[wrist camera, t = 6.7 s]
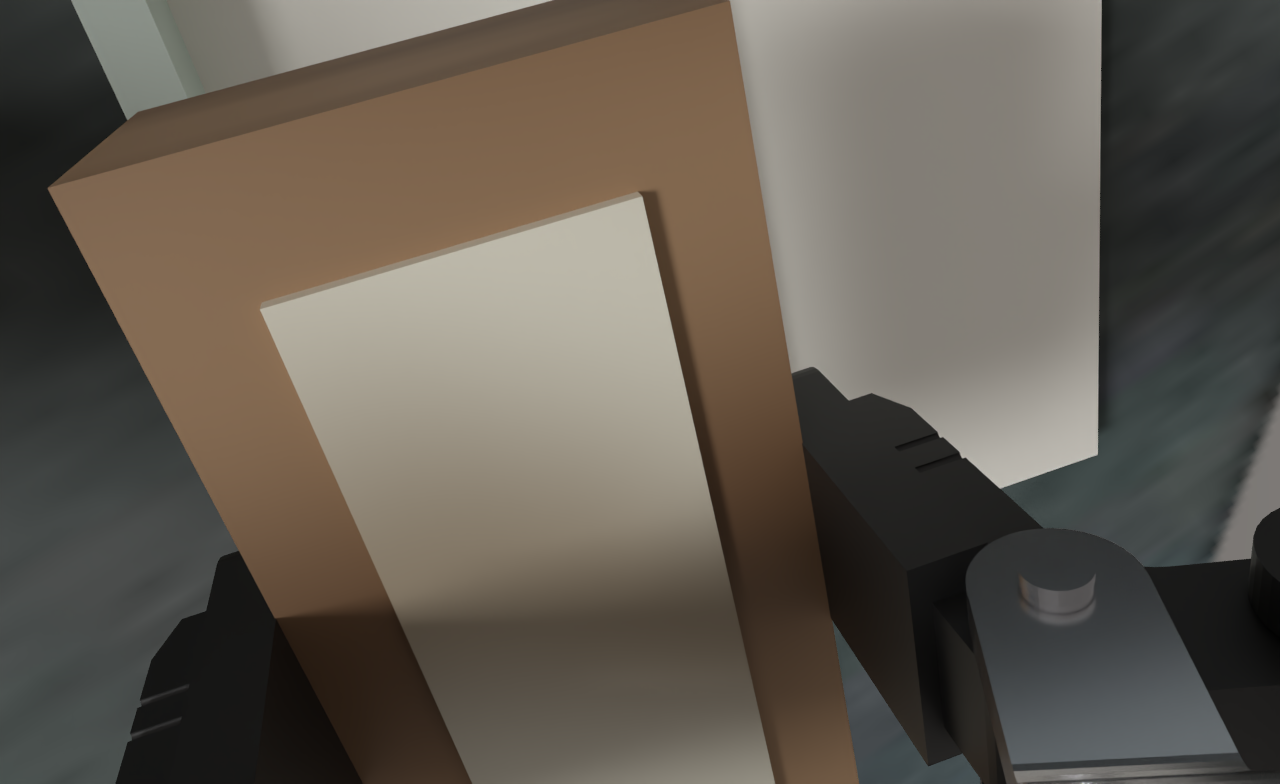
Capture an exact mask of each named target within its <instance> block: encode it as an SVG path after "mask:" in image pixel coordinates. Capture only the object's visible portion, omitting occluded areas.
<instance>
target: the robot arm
mask: <svg viewBox="0 0 1280 784" xmlns="http://www.w3.org/2000/svg"><path fill="white" fill-rule="evenodd" d="M791 374H792V380H793V386H794V392H795V398H796V405H797V411H798V417H799V423H800V429H801V435H802V441H803V443H802V447H803V453H804V459H805V465H806V471H807V477H808V483H809V489H810V495H811V501H812V507H813V513H814V519H815V525H816V531H817V537H818V544H819V550H820V556H821V562H822V568H823V574H824V580H825V586H826V592H827V598H828V604H829V610H830V616H831V619H832V620H833V622H834V623H835V625H836V626H837V628H838V630H839V631H840V633H841V634H842V636H843V637H844V639H845V640H846V642H847V643H848V645H849V646H850V648H851V649H852V651H853V652H854V654H855V655H856V657H857V658H858V660H859V662H860V663H861V665H862V666H863V668H864V669H865V671H866V672H867V674H868V675H869V677H870V678H871V680H872V681H873V683H874V684H875V686H876V687H877V689H878V690H879V692H880V694H881V695H882V697H883V698H884V700H885V701H886V703H887V704H888V706H889V707H890V709H891V710H892V712H893V713H894V715H895V716H896V718H897V719H898V721H899V722H900V724H901V726H902V727H903V729H904V730H905V732H906V733H907V735H908V736H909V738H910V739H911V741H912V742H913V744H914V745H915V747H916V748H917V750H918V751H919V753H920V754H921V756H922V757H923V759H924V761H925V762H926V764H927V765H928V766H931V765H933V764H936V763H938V762H941V761H944V760H946V759H949V758H952V757H954V756H957V755H959V754H962V753H963V754H964V756H965V757H966V759H967V760H968V762H969V763H970V764H971V766H972V767H973V769H974V770H975V771H976V773H977V774H978V776H979V777H980V784H1280V508H1279V509H1277V510H1275V511H1273V512H1271V513H1270V514H1269V515H1267V516H1266V517H1265V518H1264V519H1262V521H1261V522H1260V524H1259V525H1258V526H1257V528H1256V531H1255V534H1254V537H1253V547H1252V556H1251V559H1244V560H1233V561H1223V562H1213V563H1202V564H1192V565H1182V566H1170V567H1144V566H1143V565H1142V564H1141V563H1140V562H1139V561H1138V560H1137V559H1136V558H1135V557H1134V556H1133V555H1132V554H1131V553H1129V552H1128V551H1126V550H1125V549H1124V548H1122V547H1121V546H1119V545H1117V544H1115V543H1113V542H1111V541H1109V540H1107V539H1104V538H1102V537H1099V536H1096V535H1093V534H1089V533H1085V532H1082V531H1076V530H1069V529H1058V528H1043V527H1041V526H1040V525H1039V524H1038V523H1037V522H1036V521H1035V520H1034V519H1033V518H1032V517H1030V516H1029V515H1028V514H1027V513H1026V512H1025V511H1024V510H1023V509H1022V508H1021V507H1019V506H1018V505H1017V504H1016V503H1015V502H1014V501H1013V500H1012V499H1011V498H1010V497H1008V496H1007V495H1006V494H1005V493H1004V492H1003V491H1002V490H1001V489H1000V488H999V487H998V486H996V485H995V484H994V483H993V482H992V481H991V480H990V479H989V478H988V477H987V476H985V475H984V474H983V473H982V472H981V471H980V470H979V469H978V468H977V467H976V466H974V465H973V464H972V463H971V462H970V461H969V460H968V459H967V458H966V457H965V458H962V457H961V455H960V452H959V451H958V450H957V449H956V448H955V447H954V446H953V445H951V444H950V443H949V442H948V441H947V440H946V439H945V438H944V437H942V438H940V437H939V435H938V432H937V431H936V430H935V429H934V428H933V427H932V426H931V425H929V424H928V423H927V422H926V421H925V420H924V419H923V418H922V417H921V416H920V415H918V414H917V413H916V412H915V411H914V410H913V409H912V408H910V407H907V406H905V405H902V404H899V403H897V402H894V401H891V400H889V399H886V398H883V397H881V396H878V395H875V394H873V393H870V394H867V395H864V396H861V397H858V398H855V399H852V400H848V399H847V398H846V397H845V396H844V395H843V394H842V393H841V392H840V391H839V390H838V389H837V388H836V387H835V386H834V385H833V384H832V383H831V382H830V381H829V380H828V379H827V378H826V377H825V376H824V375H823V374H822V373H821V372H820V371H819V370H818V369H817V368H815V367H809V368H806V369H803V370H800V371H796V372H793V373H791ZM140 701H141V704H142V707H139V708H137V712H136V715H135V719H134V722H133V726H132V729H131V732H130V734H131V737H132V741H130V742H128V743H127V746H126V750H125V753H124V757H123V760H122V763H121V767H120V770H119V774H118V777H117V781H116V784H363V782H362V780H361V779H360V777H359V775H358V773H357V771H356V769H355V767H354V765H353V763H352V762H351V760H350V758H349V756H348V754H347V752H346V750H345V748H344V746H343V744H342V743H341V741H340V739H339V737H338V735H337V733H336V731H335V729H334V727H333V726H332V724H331V722H330V720H329V718H328V716H327V714H326V712H325V710H324V708H323V707H322V705H321V703H320V701H319V699H318V697H317V695H316V693H315V691H314V690H313V688H312V686H311V684H310V682H309V680H308V678H307V676H306V674H305V672H304V671H303V669H302V667H301V665H300V663H299V661H298V659H297V657H296V655H295V654H294V652H293V650H292V648H291V646H290V644H289V642H288V640H287V638H286V636H285V635H284V633H283V631H282V629H281V627H280V625H279V623H278V621H277V619H276V618H274V616H273V614H272V612H271V610H270V608H269V607H268V605H267V603H266V601H265V599H264V597H263V595H262V593H261V591H260V590H259V588H258V586H257V584H256V582H255V580H254V578H253V576H252V574H251V572H250V571H249V569H248V567H247V565H246V563H245V561H244V559H243V557H242V555H241V554H240V552H239V551H237V552H234V553H231V554H228V555H225V556H222V557H221V558H220V559H219V561H218V564H217V567H216V571H215V576H214V580H213V584H212V589H211V593H210V597H209V601H208V606H207V610H206V611H205V612H202V613H199V614H196V615H193V616H190V617H187V618H184V619H182V620H181V621H180V622H179V624H178V625H177V626H176V628H175V629H174V630H173V632H172V633H171V635H170V636H169V637H168V639H167V640H166V641H165V643H164V644H163V645H162V647H161V648H160V649H159V651H158V652H157V653H156V655H155V656H154V657H153V659H152V660H151V664H150V667H149V670H148V674H147V677H146V681H145V684H144V688H143V691H142V695H141V698H140Z"/></svg>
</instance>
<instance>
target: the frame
mask: <svg viewBox="0 0 1280 784" xmlns="http://www.w3.org/2000/svg"><path fill="white" fill-rule="evenodd" d="M48 190H49V192H50V194H51V196H52V198H53V200H54V202H55V204H56V206H57V207H58V209H59V211H60V213H61V215H62V217H63V219H64V221H65V223H66V224H67V226H68V228H69V230H70V232H71V234H72V236H73V238H74V240H75V241H76V243H77V245H78V247H79V249H80V251H81V253H82V255H83V257H84V258H85V260H86V262H87V264H88V266H89V268H90V270H91V272H92V274H93V276H94V277H95V279H96V281H97V283H98V285H99V287H100V289H101V291H102V293H103V294H104V296H105V298H106V300H107V302H108V304H109V306H110V308H111V310H112V311H113V313H114V315H115V317H116V319H117V321H118V323H119V325H120V327H121V328H122V330H123V332H124V334H125V336H126V338H127V340H128V342H129V344H130V345H131V347H132V349H133V351H134V353H135V355H136V357H137V359H138V361H139V363H140V364H141V366H142V368H143V370H144V372H145V374H146V376H147V378H148V380H149V381H150V383H151V385H152V387H153V389H154V391H155V393H156V395H157V397H158V398H159V400H160V402H161V404H162V406H163V408H164V410H165V412H166V414H167V415H168V417H169V419H170V421H171V423H172V425H173V427H174V429H175V431H176V433H177V434H178V436H179V438H180V440H181V442H182V444H183V446H184V448H185V450H186V451H187V453H188V455H189V457H190V459H191V461H192V463H193V465H194V467H195V468H196V470H197V472H198V474H199V476H200V478H201V480H202V482H203V484H204V485H205V487H206V489H207V491H208V493H209V495H210V497H211V499H212V501H213V502H214V504H215V506H216V508H217V510H218V512H219V514H220V516H221V518H222V520H223V521H224V523H225V525H226V527H227V529H228V531H229V533H230V535H231V537H232V538H233V540H234V542H235V544H236V546H237V548H238V550H239V552H240V554H241V555H242V557H243V559H244V561H245V563H246V565H247V567H248V569H249V571H250V572H251V574H252V576H253V578H254V580H255V582H256V584H257V586H258V588H259V590H260V591H261V593H262V595H263V597H264V599H265V601H266V603H267V605H268V607H269V608H270V610H271V612H272V614H273V616H274V618H276V619H277V621H278V623H279V625H280V627H281V629H282V631H283V633H284V635H285V636H286V638H287V640H288V642H289V644H290V646H291V648H292V650H293V652H294V654H295V655H296V657H297V659H298V661H299V663H300V665H301V667H302V669H303V671H304V672H305V674H306V676H307V678H308V680H309V682H310V684H311V686H312V688H313V690H314V691H315V693H316V695H317V697H318V699H319V701H320V703H321V705H322V707H323V708H324V710H325V712H326V714H327V716H328V718H329V720H330V722H331V724H332V726H333V727H334V729H335V731H336V733H337V735H338V737H339V739H340V741H341V743H342V744H343V746H344V748H345V750H346V752H347V754H348V756H349V758H350V760H351V762H352V763H353V765H354V767H355V769H356V771H357V773H358V775H359V777H360V779H361V780H362V782H363V784H859V781H858V775H857V769H856V763H855V756H854V750H853V744H852V738H851V732H850V726H849V720H848V714H847V708H846V702H845V696H844V690H843V684H842V678H841V672H840V665H839V659H838V653H837V647H836V641H835V635H834V629H833V623H832V619H831V616H830V610H829V604H828V598H827V592H826V586H825V580H824V574H823V568H822V562H821V556H820V550H819V544H818V537H817V531H816V525H815V519H814V513H813V507H812V501H811V495H810V489H809V483H808V477H807V471H806V465H805V459H804V453H803V447H802V443H803V441H802V435H801V429H800V423H799V417H798V411H797V405H796V398H795V392H794V386H793V380H792V374H791V368H790V362H789V356H788V350H787V344H786V338H785V332H784V326H783V320H782V314H781V307H780V301H779V295H778V289H777V283H776V277H775V271H774V265H773V259H772V253H771V247H770V241H769V235H768V229H767V223H766V216H765V210H764V204H763V198H762V192H761V186H760V180H759V174H758V168H757V162H756V156H755V150H754V144H753V138H752V131H751V125H750V119H749V113H748V107H747V101H746V95H745V89H744V83H743V77H742V71H741V65H740V59H739V53H738V47H737V40H736V34H735V28H734V22H733V16H732V10H731V4H730V1H729V0H552V1H548V2H545V3H541V4H537V5H533V6H530V7H526V8H522V9H519V10H515V11H511V12H507V13H504V14H500V15H496V16H492V17H489V18H485V19H481V20H478V21H474V22H470V23H466V24H463V25H459V26H455V27H452V28H448V29H444V30H440V31H437V32H433V33H429V34H426V35H422V36H418V37H414V38H411V39H407V40H403V41H399V42H396V43H392V44H388V45H385V46H381V47H377V48H373V49H370V50H366V51H362V52H359V53H355V54H351V55H347V56H344V57H340V58H336V59H332V60H329V61H325V62H321V63H318V64H314V65H310V66H306V67H303V68H299V69H295V70H292V71H288V72H284V73H280V74H277V75H273V76H269V77H265V78H262V79H258V80H254V81H251V82H247V83H243V84H239V85H236V86H232V87H228V88H225V89H221V90H217V91H213V92H210V93H206V94H202V95H198V96H195V97H191V98H187V99H184V100H180V101H176V102H172V103H169V104H165V105H161V106H158V107H154V108H150V109H146V110H143V111H139V112H137V113H136V114H135V115H133V116H132V117H131V118H130V119H129V120H127V121H126V122H125V123H124V124H123V125H122V126H120V127H119V128H118V129H117V130H116V131H114V132H113V133H112V134H111V135H110V136H109V137H107V138H106V139H105V140H104V141H103V142H101V143H100V144H99V145H98V146H97V147H95V148H94V149H93V150H92V151H91V152H90V153H88V154H87V155H86V156H85V157H84V158H82V159H81V160H80V161H79V162H78V163H77V164H75V165H74V166H73V167H72V168H71V169H69V170H68V171H67V172H66V173H65V174H63V175H62V176H61V177H60V178H59V179H58V180H56V181H55V182H54V183H53V184H52V185H50V186H49V187H48Z"/></svg>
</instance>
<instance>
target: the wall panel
mask: <svg viewBox="0 0 1280 784" xmlns="http://www.w3.org/2000/svg"><path fill="white" fill-rule="evenodd" d="M71 1H72V3H73V6H74V8H75V10H76V12H77V14H78V16H79V18H80V20H81V23H82V25H83V27H84V29H85V31H86V33H87V35H88V38H89V40H90V42H91V44H92V46H93V48H94V50H95V52H96V55H97V57H98V59H99V61H100V63H101V65H102V67H103V69H104V72H105V74H106V76H107V78H108V80H109V82H110V84H111V87H112V89H113V91H114V93H115V95H116V97H117V99H118V101H119V104H120V106H121V108H122V110H123V112H124V114H125V116H126V118H127V120H129V119H130V118H131V117H132V116H133V115H135V114H136V113H137V112H139V111H143V110H146V109H150V108H154V107H158V106H161V105H165V104H169V103H172V102H176V101H180V100H184V99H187V98H191V97H195V96H198V95H202V94H206V93H210V92H213V91H217V90H221V89H225V88H228V87H232V86H236V85H239V84H243V83H247V82H251V81H254V80H258V79H262V78H265V77H269V76H273V75H277V74H280V73H284V72H288V71H292V70H295V69H299V68H303V67H306V66H310V65H314V64H318V63H321V62H325V61H329V60H332V59H336V58H340V57H344V56H347V55H351V54H355V53H359V52H362V51H366V50H370V49H373V48H377V47H381V46H385V45H388V44H392V43H396V42H399V41H403V40H407V39H411V38H414V37H418V36H422V35H426V34H429V33H433V32H437V31H440V30H444V29H448V28H452V27H455V26H459V25H463V24H466V23H470V22H474V21H478V20H481V19H485V18H489V17H492V16H496V15H500V14H504V13H507V12H511V11H515V10H519V9H522V8H526V7H530V6H533V5H537V4H541V3H545V2H548V1H552V0H71ZM729 1H730V4H731V10H732V16H733V22H734V28H735V34H736V40H737V47H738V53H739V59H740V65H741V71H742V77H743V83H744V89H745V95H746V101H747V107H748V113H749V119H750V125H751V131H752V138H753V144H754V150H755V156H756V162H757V168H758V174H759V180H760V186H761V192H762V198H763V204H764V210H765V216H766V223H767V229H768V235H769V241H770V247H771V253H772V259H773V265H774V271H775V277H776V283H777V289H778V295H779V301H780V307H781V314H782V320H783V326H784V332H785V338H786V344H787V350H788V356H789V362H790V368H791V373H793V372H796V371H800V370H803V369H806V368H809V367H815V368H817V369H818V370H819V371H820V372H821V373H822V374H823V375H824V376H825V377H826V378H827V379H828V380H829V381H830V382H831V383H832V384H833V385H834V386H835V387H836V388H837V389H838V390H839V391H840V392H841V393H842V394H843V395H844V396H845V397H846V398H847V399H848V400H852V399H855V398H858V397H861V396H864V395H867V394H870V393H873V394H875V395H878V396H881V397H883V398H886V399H889V400H891V401H894V402H897V403H899V404H902V405H905V406H907V407H910V408H912V409H913V410H914V411H915V412H916V413H917V414H918V415H920V416H921V417H922V418H923V419H924V420H925V421H926V422H927V423H928V424H929V425H931V426H932V427H933V428H934V429H935V430H936V431H937V432H938V435H939V437H940V438H942V437H944V438H945V439H946V440H947V441H948V442H949V443H950V444H951V445H953V446H954V447H955V448H956V449H957V450H958V451H959V452H960V455H961V457H962V458H965V457H966V458H967V459H968V460H969V461H970V462H971V463H972V464H973V465H974V466H976V467H977V468H978V469H979V470H980V471H981V472H982V473H983V474H984V475H985V476H987V477H988V478H989V479H990V480H991V481H992V482H993V483H994V484H995V485H996V486H998V487H999V488H1003V487H1006V486H1009V485H1011V484H1014V483H1017V482H1020V481H1023V480H1026V479H1029V478H1032V477H1035V476H1037V475H1040V474H1043V473H1046V472H1049V471H1052V470H1055V469H1058V468H1061V467H1063V466H1066V465H1069V464H1072V463H1075V462H1078V461H1081V460H1084V459H1087V458H1089V457H1092V456H1095V455H1098V364H1099V250H1100V135H1101V21H1102V0H729Z"/></svg>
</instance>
